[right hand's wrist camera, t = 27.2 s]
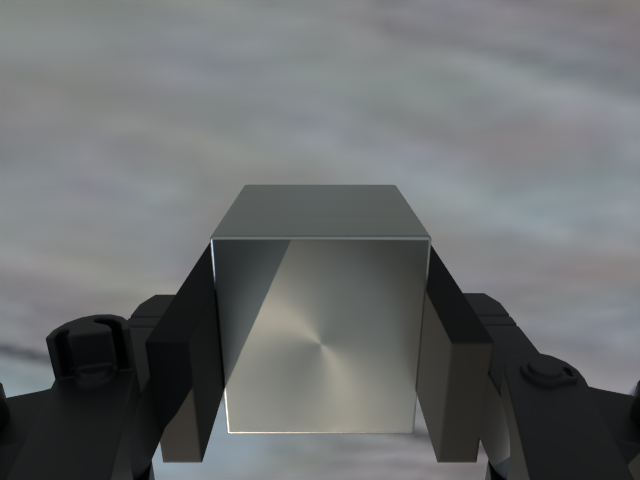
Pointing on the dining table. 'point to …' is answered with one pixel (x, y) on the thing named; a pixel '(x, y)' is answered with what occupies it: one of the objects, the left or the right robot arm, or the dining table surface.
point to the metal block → (320, 308)
